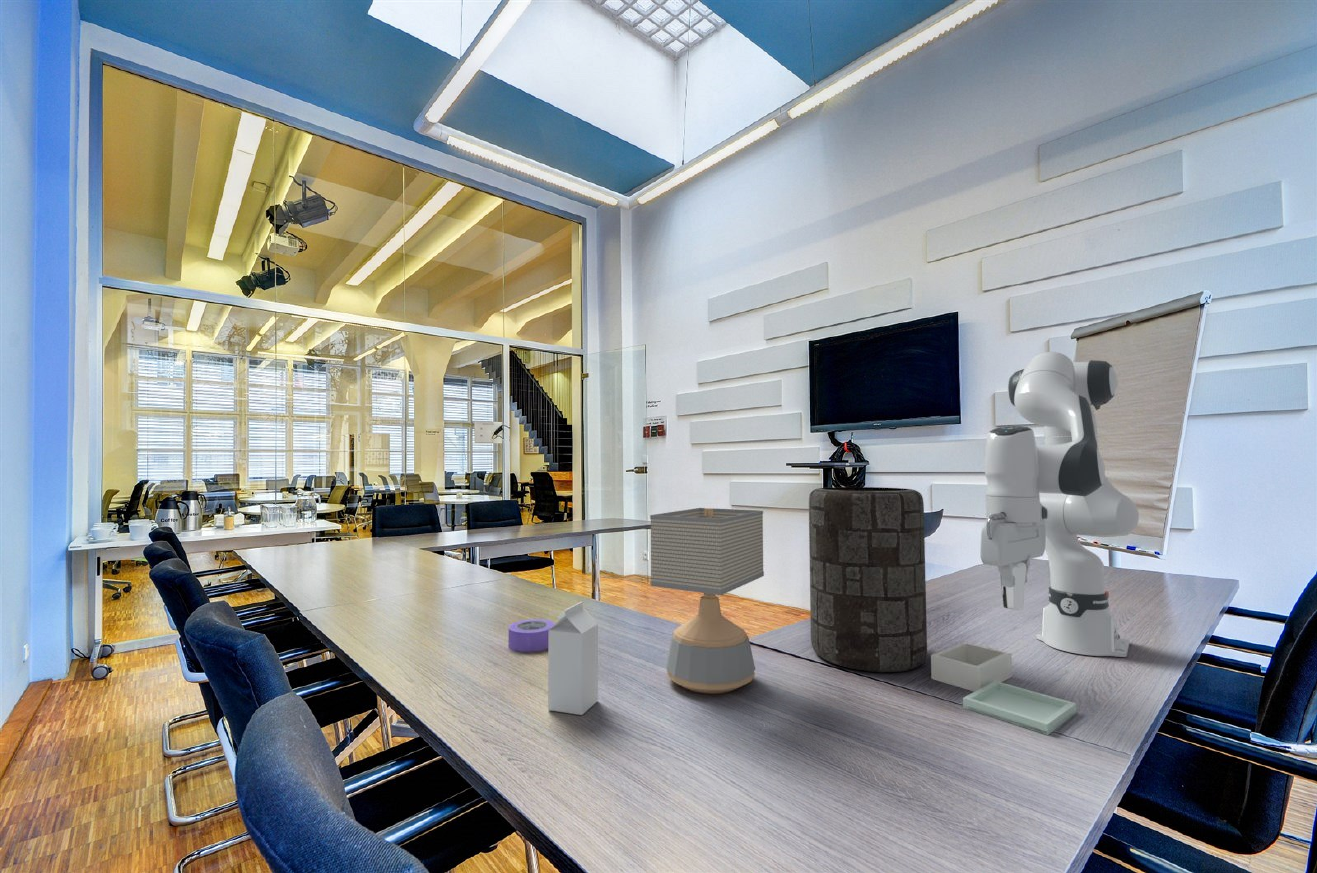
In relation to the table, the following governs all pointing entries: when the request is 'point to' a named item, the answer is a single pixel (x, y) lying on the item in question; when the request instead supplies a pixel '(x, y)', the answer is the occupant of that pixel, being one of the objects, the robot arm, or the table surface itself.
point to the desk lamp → (708, 591)
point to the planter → (868, 577)
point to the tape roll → (529, 635)
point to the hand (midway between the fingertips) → (1014, 584)
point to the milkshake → (1015, 588)
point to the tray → (1021, 707)
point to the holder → (971, 666)
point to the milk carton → (573, 662)
